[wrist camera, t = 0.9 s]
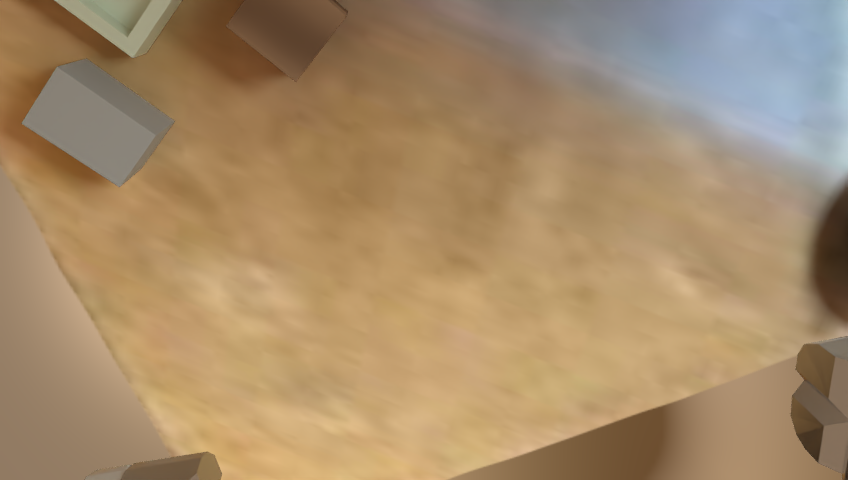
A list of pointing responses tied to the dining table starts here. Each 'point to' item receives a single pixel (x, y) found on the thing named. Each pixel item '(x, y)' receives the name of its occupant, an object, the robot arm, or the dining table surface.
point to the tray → (125, 20)
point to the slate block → (97, 120)
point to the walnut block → (287, 30)
